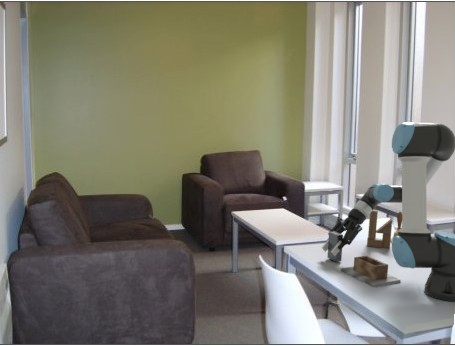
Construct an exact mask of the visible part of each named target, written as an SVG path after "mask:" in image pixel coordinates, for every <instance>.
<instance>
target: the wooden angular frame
mask: <svg viewBox="0 0 455 346" xmlns="http://www.w3.org/2000/svg"><path fill="white" fill-rule="evenodd" d="M378 212H379V211H378V210H377V209H373V211H372V212H371V213H370V214H369V219H368V220H369V221H368V222H369V223H368V233H367V240H366V246H367V247H372V248H373V247H374V248H382V249H391V242H390V241H391V239H392V228H393V226H392V225H393V219H392V218H390V219H389V220H387V221H385V223H383V225H381V226H380V227H379V228H377V227H378V226H377V225H378V224H377V223H378ZM377 234H382V238H378V237H377V238H376V235H377Z"/></svg>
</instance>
